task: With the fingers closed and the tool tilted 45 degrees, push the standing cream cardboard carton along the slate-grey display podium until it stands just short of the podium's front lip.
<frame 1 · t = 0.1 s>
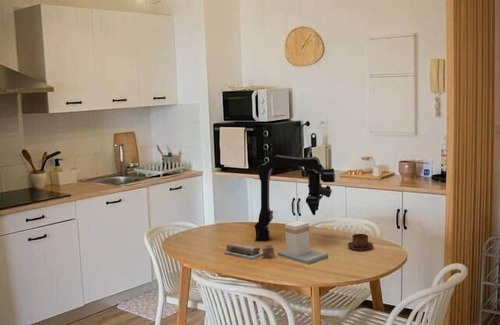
hand: (315, 212, 289), 15 cm above the table, tool pointing down, fingers open, 9 cm apart
podium: (302, 256, 267), on the table
cup and saucer: (360, 248, 276), on the table
carton: (298, 252, 270), point 1 cm above the table, touching podium
packaged product: (244, 255, 275), on the table
walnut block: (268, 256, 270), on the table
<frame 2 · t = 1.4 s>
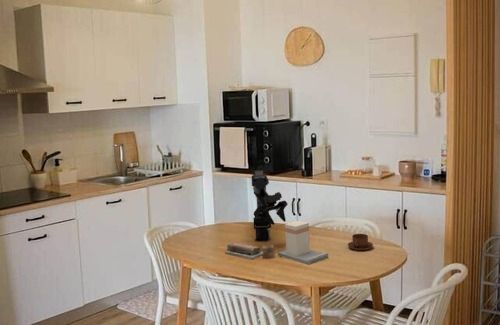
hand: (279, 222, 277), 13 cm above the table, tool tilted 45°, fingers open, 7 cm apart
nothing on the table moved.
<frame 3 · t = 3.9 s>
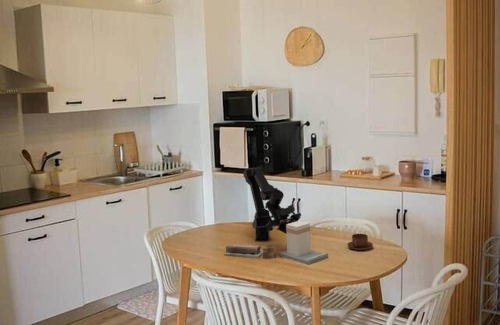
hand: (292, 236, 271), 8 cm above the table, tool tilted 45°, fingers closed
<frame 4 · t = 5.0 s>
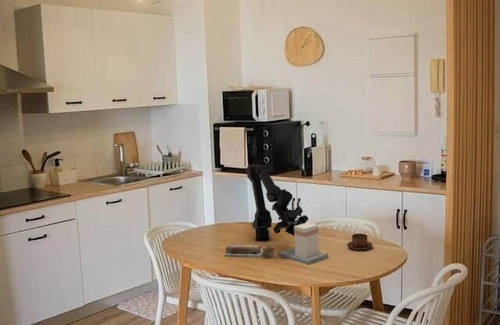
hand: (300, 238, 267), 8 cm above the table, tool tilted 45°, fingers closed, pressing on carton
carton: (307, 254, 265), point 1 cm above the table, touching gripper, podium
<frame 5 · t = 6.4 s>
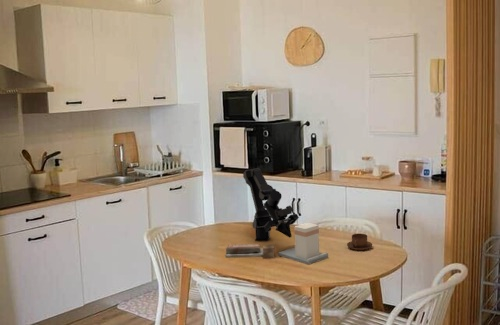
hand: (290, 237, 272), 8 cm above the table, tool tilted 45°, fingers closed
carton: (307, 255, 265), point 1 cm above the table, touching podium
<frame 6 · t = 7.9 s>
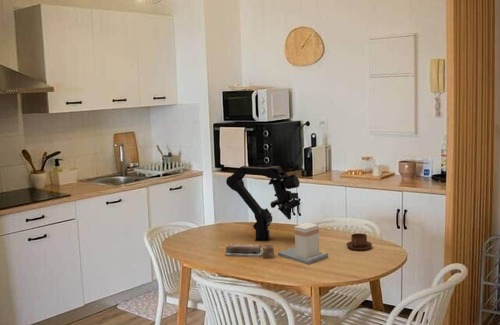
hand: (289, 219, 291), 11 cm above the table, tool tilted 15°, fingers closed
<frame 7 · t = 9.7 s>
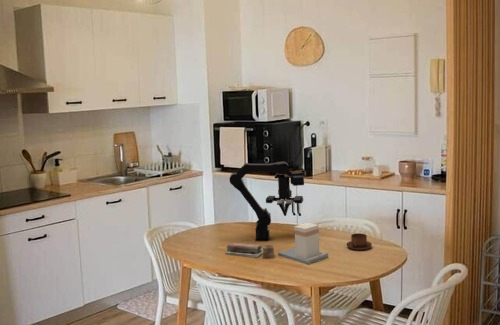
hand: (285, 215, 296), 12 cm above the table, tool pointing down, fingers closed
at the end: carton inside the target area on the podium (0.9 cm from its centre), point 1.2 cm above the podium's base; carton tilted 0°; carton moved 6.2 cm from its start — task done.
